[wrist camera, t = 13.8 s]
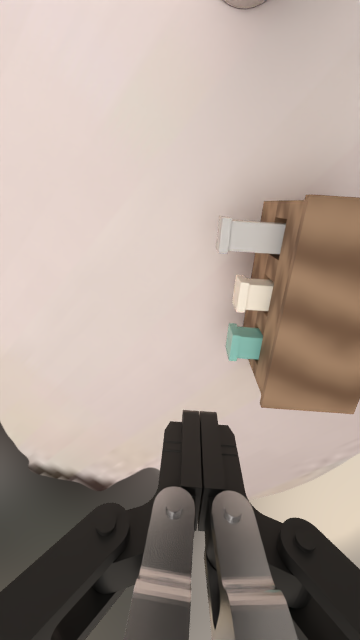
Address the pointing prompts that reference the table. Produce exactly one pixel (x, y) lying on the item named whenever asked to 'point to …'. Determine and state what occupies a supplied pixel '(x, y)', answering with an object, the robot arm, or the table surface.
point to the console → (311, 307)
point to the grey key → (249, 236)
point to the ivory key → (252, 294)
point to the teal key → (243, 342)
